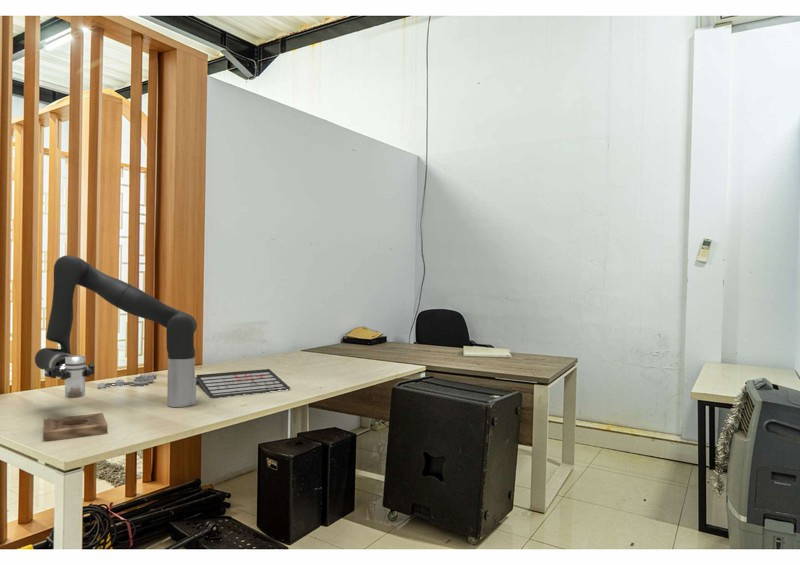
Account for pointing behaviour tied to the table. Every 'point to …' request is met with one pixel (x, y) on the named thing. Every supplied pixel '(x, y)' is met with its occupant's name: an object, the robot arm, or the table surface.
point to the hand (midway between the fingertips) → (77, 374)
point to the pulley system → (138, 381)
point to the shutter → (240, 383)
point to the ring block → (74, 426)
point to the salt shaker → (75, 376)
